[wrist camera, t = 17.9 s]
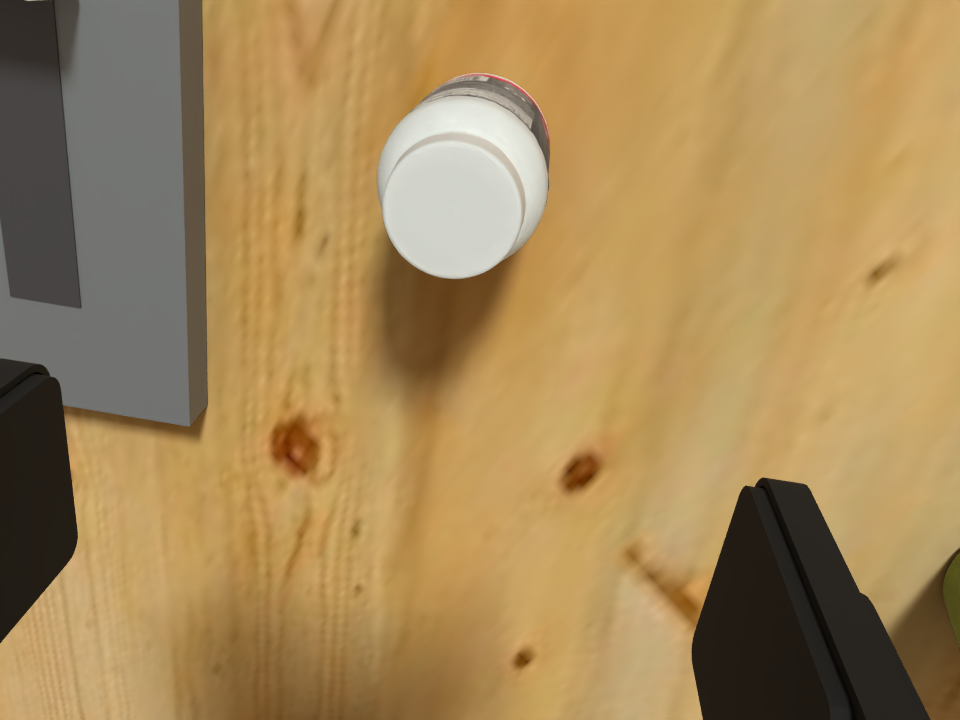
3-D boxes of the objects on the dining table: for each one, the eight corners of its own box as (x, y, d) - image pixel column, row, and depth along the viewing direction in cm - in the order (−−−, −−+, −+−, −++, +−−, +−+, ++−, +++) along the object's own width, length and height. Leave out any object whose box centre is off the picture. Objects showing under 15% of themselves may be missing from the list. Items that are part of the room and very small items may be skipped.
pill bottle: (527, 228, 32) (514, 325, 24) (399, 190, 32) (338, 273, 23) (569, 94, 30) (572, 147, 21) (431, 51, 30) (376, 87, 21)
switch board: (207, 405, 38) (189, 427, 36) (-43, 362, 38) (-75, 382, 36) (196, -370, 25) (166, -397, 23) (-178, -426, 25) (-237, -457, 23)
